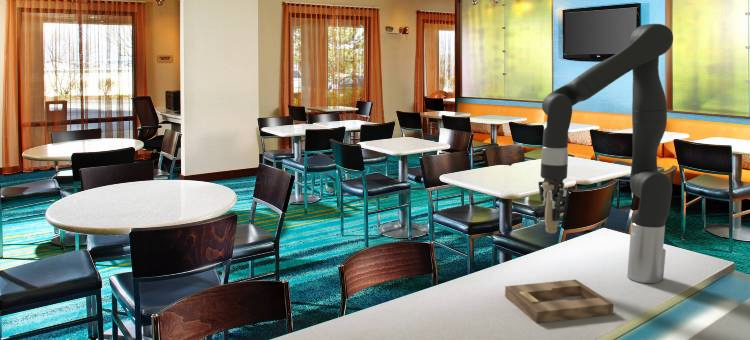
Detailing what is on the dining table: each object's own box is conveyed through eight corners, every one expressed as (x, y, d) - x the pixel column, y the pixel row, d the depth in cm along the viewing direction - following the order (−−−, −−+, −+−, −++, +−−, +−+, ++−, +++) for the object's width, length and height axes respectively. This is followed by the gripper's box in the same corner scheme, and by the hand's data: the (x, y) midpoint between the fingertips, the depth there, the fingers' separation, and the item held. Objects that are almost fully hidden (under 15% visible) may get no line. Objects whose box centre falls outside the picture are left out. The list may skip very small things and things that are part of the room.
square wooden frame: (575, 289, 177) (575, 278, 177) (612, 314, 160) (613, 302, 159) (505, 296, 172) (505, 285, 171) (536, 323, 155) (536, 310, 154)
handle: (565, 233, 182) (567, 183, 179) (546, 235, 180) (548, 185, 177) (555, 229, 187) (557, 180, 184) (537, 231, 185) (539, 182, 182)
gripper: (579, 165, 173) (576, 224, 177) (553, 157, 187) (551, 212, 190) (555, 166, 172) (552, 226, 175) (531, 158, 185) (528, 213, 189)
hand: (551, 218), depth 183 cm, fingers closed on handle, 4 cm apart
